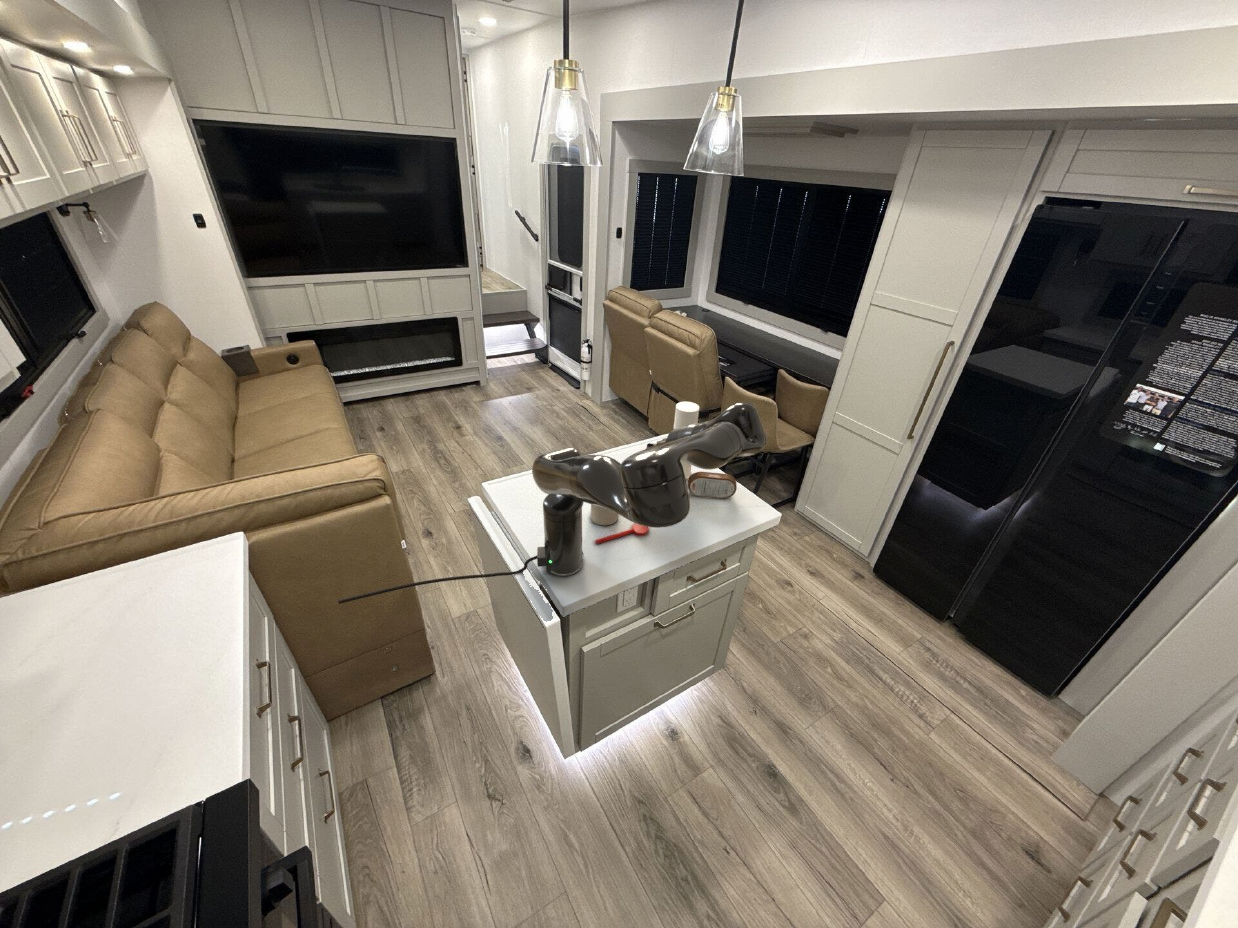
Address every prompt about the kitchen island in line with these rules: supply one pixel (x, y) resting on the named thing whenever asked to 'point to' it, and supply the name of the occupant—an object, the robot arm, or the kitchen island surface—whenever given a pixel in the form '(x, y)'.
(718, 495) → the tin
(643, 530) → the red spoon
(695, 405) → the cylindrical container
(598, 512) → the travel mug
